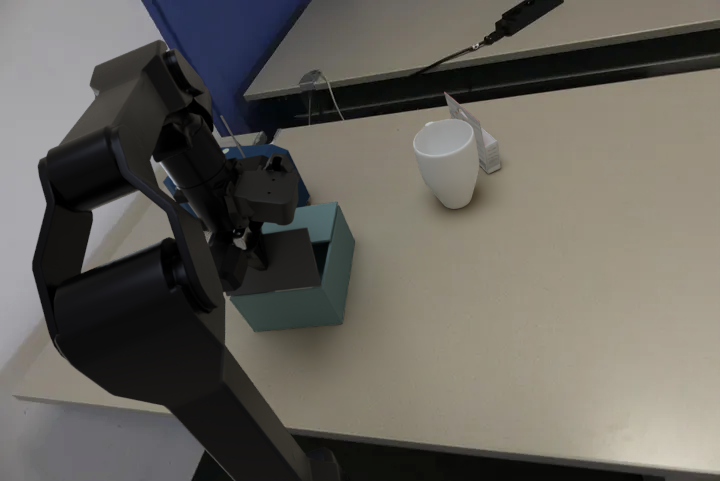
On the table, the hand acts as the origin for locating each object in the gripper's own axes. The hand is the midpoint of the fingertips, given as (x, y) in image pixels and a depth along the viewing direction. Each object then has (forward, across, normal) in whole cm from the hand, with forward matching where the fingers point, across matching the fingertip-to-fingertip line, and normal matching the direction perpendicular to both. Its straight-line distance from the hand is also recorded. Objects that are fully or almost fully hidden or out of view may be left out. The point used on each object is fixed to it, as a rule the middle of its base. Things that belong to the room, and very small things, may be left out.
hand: (264, 268), depth 63 cm
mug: (+11, +21, -21) cm, 32 cm away
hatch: (0, +1, 0) cm, 1 cm away
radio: (+11, +23, +13) cm, 29 cm away
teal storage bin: (+11, +6, 0) cm, 13 cm away
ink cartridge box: (+11, +29, -25) cm, 40 cm away
